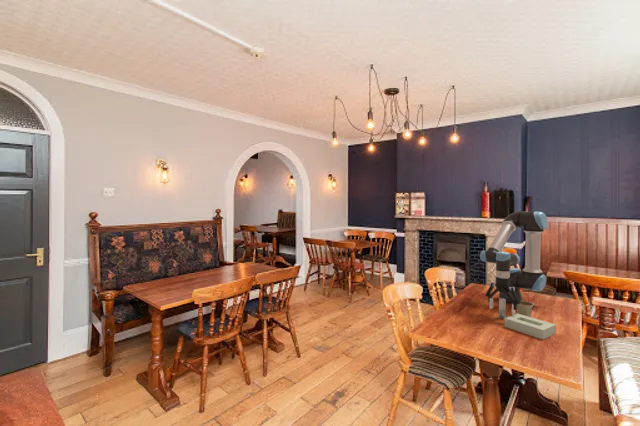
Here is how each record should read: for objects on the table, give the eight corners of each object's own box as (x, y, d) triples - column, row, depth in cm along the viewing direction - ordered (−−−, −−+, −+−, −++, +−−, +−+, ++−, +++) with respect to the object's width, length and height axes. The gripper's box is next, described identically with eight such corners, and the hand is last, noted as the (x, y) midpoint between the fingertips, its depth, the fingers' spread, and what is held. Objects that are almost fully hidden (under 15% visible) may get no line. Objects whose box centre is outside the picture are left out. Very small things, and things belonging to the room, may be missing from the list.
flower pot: (513, 316, 198) (514, 303, 198) (517, 312, 205) (517, 299, 205) (531, 320, 192) (531, 306, 192) (534, 316, 199) (534, 302, 198)
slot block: (517, 321, 191) (517, 313, 190) (555, 333, 174) (556, 324, 173) (504, 326, 183) (504, 318, 183) (543, 339, 166) (543, 330, 166)
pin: (500, 316, 199) (501, 297, 198) (506, 318, 196) (506, 299, 195) (497, 317, 197) (497, 298, 197) (503, 319, 194) (503, 300, 193)
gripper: (479, 274, 204) (479, 306, 205) (520, 282, 183) (520, 318, 184) (486, 272, 208) (486, 304, 209) (527, 280, 187) (526, 316, 187)
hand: (502, 311), depth 196 cm, fingers open, 13 cm apart
